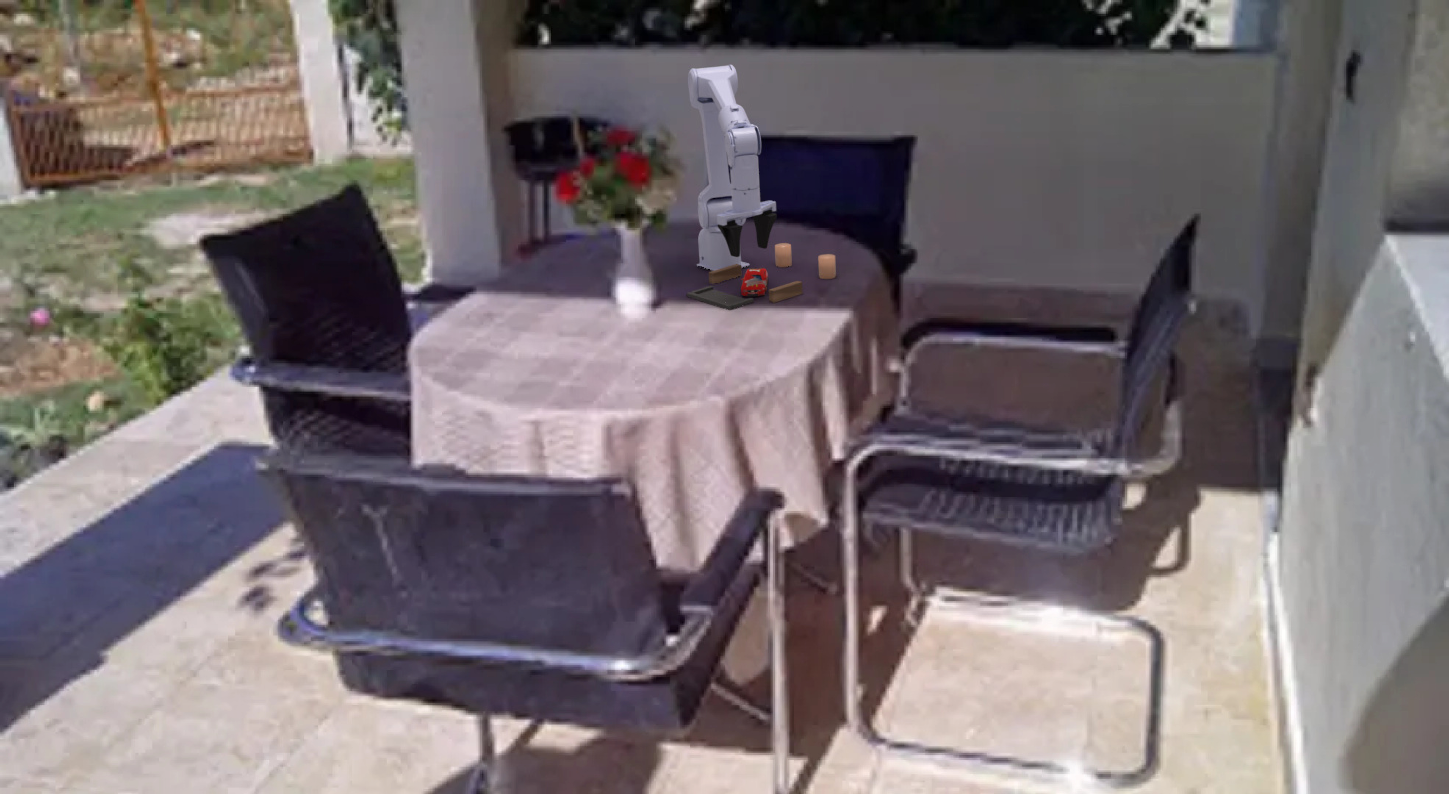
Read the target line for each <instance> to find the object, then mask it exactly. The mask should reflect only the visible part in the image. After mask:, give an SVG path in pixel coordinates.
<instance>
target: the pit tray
mask: <svg viewBox="0 0 1449 794" xmlns="http://www.w3.org/2000/svg"><path fill="white" fill-rule="evenodd" d="M714 291H715V292H714ZM723 294H724V295H723ZM726 294H729V295H726ZM686 297H687V298H690V297H691V298H690V299H693V298H694V299H693V300H695V301H696V300H697V301H699V300H700V301H699V302H702V301H703V303H705V302H706V304H709V305H712V306H715V305H716V306H715V307H719V308H722V309H724V308H726V309H725V310H727V309H728V310H727V311H731V310H734V308H735V309H737V307H738V308H740V307H739V306H741V307H743V306H742V305H744V306H747V305H750V304H753V302H754V301H755V300H754V298H753V297H748V298H743V297H741V298H740V297H739V296H736V295H734V294H730V293H728V292H723V291H721V290H718V289H714V285H709V286H704V287H702V288H699V289H695V290H691V291H689V292H686ZM725 297H726V298H725ZM725 302H726V303H725ZM749 303H750V304H749ZM754 303H755V302H754ZM746 304H747V305H746Z"/></svg>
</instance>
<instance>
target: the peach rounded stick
mask: <svg viewBox="0 0 1449 794" xmlns="http://www.w3.org/2000/svg"><path fill="white" fill-rule="evenodd" d="M774 256H775V259H774V260H775V266H776V267H777V266H778V267H777V268H787V267H788V266H789V267H791V266H792V265H793V262H792V261H793V260H792V244H790V243H787V242H783V243H782V242H779V243H777V244H775V245H774Z"/></svg>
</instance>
